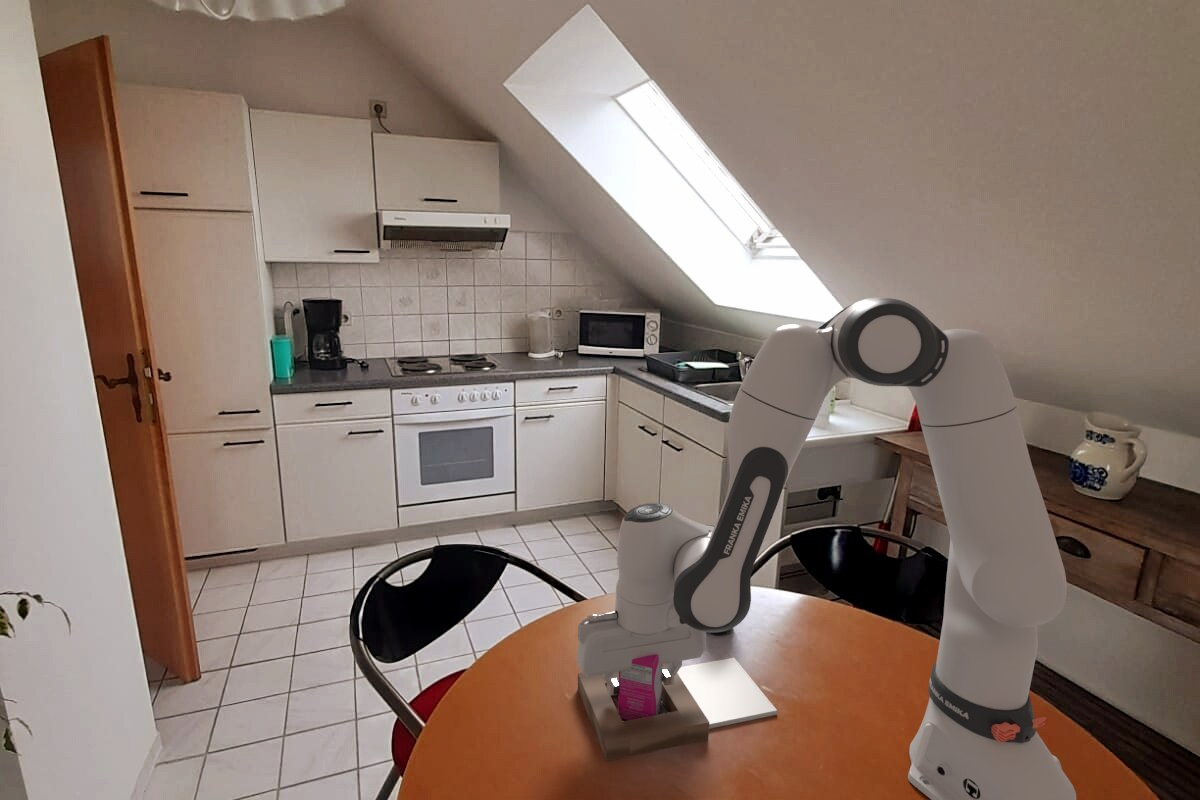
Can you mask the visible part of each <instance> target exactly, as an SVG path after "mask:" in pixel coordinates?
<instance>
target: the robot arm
mask: <svg viewBox="0 0 1200 800" xmlns="http://www.w3.org/2000/svg"><path fill="white" fill-rule="evenodd" d="M848 378H849V379H851V378H852V379H856V380H859V381H861V382H863V383H866V384H868V385H872V386H877V387H905V388H906V387H907V389H908V390H909V391H910V393H911V396H912V398H913V400H914V402H915V405H916V409H917V410H916V411H917V414H918V418H919V422H920V426H921V430H922V433H923V437H924V442H925V446H926V449H927V452H928V457H929V461H930V464H931V468H932V472H933V475H934V476H933V477H934V480H935V483H936V487H937V491H938V495H939V498H940V503H941V506H942V511H943V514H944V519H945V522H946V525H947V529H948V535H949V537H950V540H949V541H950V542H949V550H948V560H947V567H946V568H947V571H946V578H945V579H946V581H945V593H944V604H943V605H944V606H943V619H942V626H941V631H940V639H939V644H938V651H937V657H936V662H934V664H933V665H932V668H931V673H930V677H929V681H928V696H929V699H928V703H927V706H926V709H925V714H924V716H923V719H922V721H921V724H920V726H919V728H918V731H917V733H916V734H915V736H914V738H913V739H912V740H911V742H910V744H909V753H908V754H909V758H910V762H911V765H910V768H909V771H908V773H907V774H908V775H907V779H908V781H909V782H910V783H911V784H912V785H913V786H914V787H915V788H917V790H918V791H920V792H921V793H922V794H924V795H925V796H926V797H928V798H929V800H1077V793H1076V790H1075V788H1074V785H1073V784H1072V782H1071V781H1070V779H1069V778H1068V777H1067V774H1066V773H1065V772H1064V771H1063V769H1062V764H1061V762H1060V760H1059V758H1058V757H1057V756H1055V755H1053V754H1052V753H1051V751H1050V750H1049V749H1048V747H1047V746H1046V744H1045V742H1044V740H1043V739H1042V737H1040V734H1039V733H1038V732H1037V729H1038V728H1041V727H1043V726H1045V725H1046V722H1045V721H1046V720H1047V717H1046V716H1042V717H1038V718H1036V717H1035V714H1034V708H1033V705H1032V704H1033V703H1032V700H1031V696H1030V694H1029V693H1030V690H1031V689H1030V688H1031V683H1032V678H1033V673H1034V668H1035V662H1036V659H1037V658H1036V657H1037V653H1038V650H1039V649H1038V647H1039V641H1038V639H1039V638H1038V627H1039V626H1042V625H1044V624H1048V623H1049V622H1051V621H1052V620H1053V619H1055V618H1056V617H1057V616H1058V615H1059V614H1060V613H1061V612H1062V610H1063V608H1064V606H1065V603H1066V601H1067V591H1068V589H1067V587H1068V586H1067V576H1066V570H1065V567H1064V564H1063V560H1062V557H1061V556H1062V555H1061V553H1060V550H1059V549H1060V548H1059V546H1058V542H1057V540H1056V537H1055V532H1054V529H1053V526H1052V523H1051V520H1050V517H1049V514H1048V513H1049V512H1048V510H1047V506H1046V504H1045V502H1044V498H1043V496H1042V495H1043V494H1042V492H1041V489H1040V485H1039V483H1038V480H1037V476H1036V474H1035V470H1034V467H1033V465H1032V461H1031V457H1030V453H1029V449H1028V445H1027V442H1026V438H1025V434H1024V428H1023V426H1022V421H1021V417H1020V413H1019V410H1018V406H1017V403H1016V399H1015V395H1014V391H1013V388H1012V386H1011V383H1010V380H1009V377H1008V374H1007V373H1006V369H1005V367H1004V365H1003V362H1002V360H1001V357H1000V356H999V354H998V352H997V351H996V348H995V347H994V344H993V343H992V341H991V340H990V338H989V337H988V336H987V335H985V334H984V333H982V332H980V331H978V330H974V329H968V328H949V329H945V330H941V329H940V328H939V327H937V325H936V324H934V323H933V322H932V321H931V319H929V318H928V317H927V315H925V314H924V313H923V312H922V311H921V310H920V309H918V308H917V307H915V306H914V305H912V304H911V303H909V302H906V301H904V300H900V299H897V298H889V297H883V296H876V297H867V298H865V299H864V298H863V299H860V300H859V301H856V302H854V303H853V304H850V305H848V306H846V307H845V308H843V309H842V310H840V311H839V312H837V314H835V315H834V316H832V317H831V318H830V319H829V320H828V321H826V322H825V323H823V324H821V325H820V326H819V327H818V328H816V327H812V326H810V325H809V326H808V325H805V324H801V323H799V324H798V323H797V324H796V323H790V324H783V325H780V326H778V327H777V328H775V329H774V330H773V331H771V333H770V334H769V335H768V337H767V338H766V340H765V341H764V342H763V344H762V345H761V347H760V349H759V350H758V352H757V354H756V355H755V356H754V359H753V360H752V362H751V364H750V365H749V368H748V370H747V372H746V373H745V375H744V378H743V379H742V382H741V384H740V386H739V388H738V391H737V393H736V396H735V398H734V402H733V404H732V406H731V407H732V408H731V412H730V413H729V414H730V416H729V418H728V423H727V429H726V443H727V452H728V460H729V477H728V480H729V481H728V486H727V487H728V488H727V491H726V496H725V499H724V501H723V504H722V507H721V510H720V513H719V515H718V517H717V519H716V523H715V525H710V524H704V523H703V524H702V523H700V522H697V521H694V520H692V519H690V518H689V517H688V518H687V517H686V516H684V515H682V514H680V513H679V512H678V511H677V510H675V508H673V507H672V506H671V505H668V504H666V503H660V502H647V503H643V504H639V505H637V506H635V507H633V508H631V509H630V510H629V511H628V512H627V513H626V514H625V515H624V516H623V518H622V520H621V524H620V528H619V532H618V540H617V552H616V554H617V555H616V563H617V564H616V566H617V569H618V579H617V582H616V585H615V605H614V607H615V609H614V610H615V611H607V612H602V613H599V614H595V613H593V614H589V615H587V618H584V619H582V621H580V622H579V623H578V627H577V640H578V646H577V657H576V661H577V664H578V668H579V669H580V671H581V673H583V674H584V675H586V676H587V677H591V676H596V675H603V677H604V679H605V680H606V682H607V691H608V693H609V695H610V696H611V695H617V694H619V688H620V685H619V683H618V682H617V679H616V678H614V679H611V678H612V677H613V673H614V672H620V671H625V670H630V669H631V667H632V660H633V659H635V658H640V657H645V656H650V655H655V654H658V655H659V665H660V664H666V663H669V665H668V667H667V669H665V670H662V682H663V683H664V685H672V684H674V675H676V673H677V672H678V670H679V669H680V667H683V661H687V660H689V661H690V660H694V659H700V658H701V657H702V656H703V655H704V654H705V652H707V651H706V649H707V632H710V633H716V632H723V631H726V630H729V629H731V628H733V629H734V628H735V627H737V626H738V625H740V624H741V623H742V622H743V621H744V619H746V617H747V616H748V613H749V610H750V609H751V604H752V603H751V602H752V590H751V589H752V588H751V582H752V581H751V580H752V579H751V578H752V572H753V568H754V565H755V562H756V560H757V557H758V554H759V553H760V549H761V547H762V544H763V542H764V539H765V537H766V534H767V532H768V529H769V527H770V525H771V521H772V520H773V517H774V514H775V511H776V509H777V507H778V503H779V500H780V497H781V495H782V492H783V489H784V487H785V486H786V483H787V481H788V478H789V476H790V474H791V471H792V469H793V467H794V464H796V460H797V459H798V458H799V457H798V456H799V455H800V452H801V450H802V449H803V446H804V445H805V442H806V440H807V438H808V437H809V434H810V433H811V430H812V428H813V425H814V424H815V422H816V419H817V417H818V415H819V412H820V411H821V408H822V407H823V406H822V405H823V403H824V401H825V399H826V397H827V396H828V394H829V393H830V392H831V390H832V389H833V388H834V387H835V386H836V385H838V384H839V383H840V382H842V381H843V380H846V379H848Z"/></svg>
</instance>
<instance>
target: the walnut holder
mask: <svg viewBox="0 0 1200 800" xmlns="http://www.w3.org/2000/svg"><path fill="white" fill-rule="evenodd" d="M668 665H669V663H666V664H662V670H665V669H667V667H668ZM614 678H616V679H617V682H618V683H619V672H614V673H613V677H612V678H611V679H614ZM577 691H578V694H579V697H580V698H581V701H582V703H583V707H584V708H585V711H586V713H587V716H588V719H589V720H590V723H591V726H592V729H593V730H594V734H595V736H596V738H597V741H598V744H599V746H600V749H601V751H602V754H603V757H604V759H605V760H606V762H610V761H614V760H619V759H624V758H627V757H628V758H629V757H633V756H637V755H641V754H646V753H647V754H648V753H652V752H657V751H662V750H666V749H671V748H674V747H675V748H676V747H680V746H684V745H688V744H693V743H699V742H703V741H708V740H709V735H710V734H709V732H710V729H709V721H708V719H707V718H706V716H705V715H704V713H703V712H702V710H701V709H700V707H699V706H698V704H697V702H696V701H695V699H694V698H693V696H692V695H691V693H690V692H689V690H688V689H687V687H686V686H685V684H684V683H683V681H682V680H681V678H680V676H679V675H678V673H676V675H674V684H672V685H664V683H663V682H662V700H661V703H662V704H663V706H664V705H665V706H664V707H665V709H666V710H667V712H666V713H659V714H658V715H654V716H649V717H644V718H639V719H633V720H628V721H622V719H621V717H620V715H619V713H618V709H617V707H616V705H615V702H614V700H613V699H614V698H619V694H617V695H611V696H610V695H609V693H608V691H607V682H606V680H605V679H604V677H603V675H596V676H591V677H587V676H586V675H584V674H583V672H578V673H577Z"/></svg>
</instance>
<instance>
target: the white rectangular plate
mask: <svg viewBox="0 0 1200 800" xmlns="http://www.w3.org/2000/svg"><path fill="white" fill-rule="evenodd" d="M677 673H678V675H679V676H680V678H681V680H682V681H683V683H684V684H685V686H686V687H687V689H688V690H689V692H690V693H691V695H692V696H693V698H694V699H695V701H696V702H697V704H698V706H699V707H700V709H701V710H702V712H703V713H704V715H705V716H706V718H707V719H708V721H709V730H710V729H714V728H719V727H724V726H729V725H733V724H738V723H743V722H747V721H753V720H757V719H761V718H763V719H764V718H766V717H767V718H768V717H772V716H776V715H777V714H778V709H777V708H776V706H774V704H773V703H772V702H771V701H770V699H768V697H767V696H766V695H765V693H763V691H762V690H761V689H760V688H759V686H758V685H757V684H756V682H754V680H753V679H752V678H751V676H750V675H749V674H748V672H746V670H745V669H744V668H743V667H742V666H741V664H740V663H739V662H738V660H737V659H736V658H735V657H730V658H725V659H717V660H713V661H708V662H707V661H706V662H702V663H697V664H696V663H695V664H690V665H685V666H681V667H680V669H679V670H678V672H677Z"/></svg>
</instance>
